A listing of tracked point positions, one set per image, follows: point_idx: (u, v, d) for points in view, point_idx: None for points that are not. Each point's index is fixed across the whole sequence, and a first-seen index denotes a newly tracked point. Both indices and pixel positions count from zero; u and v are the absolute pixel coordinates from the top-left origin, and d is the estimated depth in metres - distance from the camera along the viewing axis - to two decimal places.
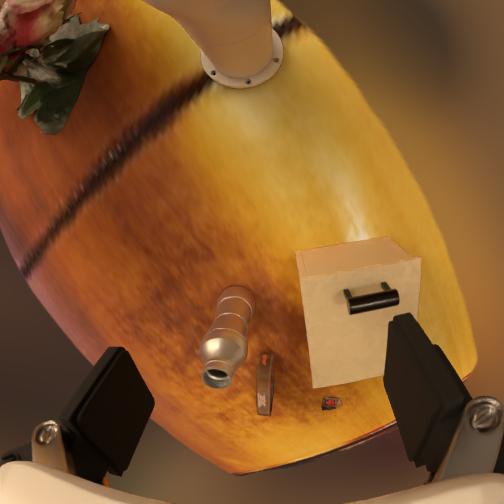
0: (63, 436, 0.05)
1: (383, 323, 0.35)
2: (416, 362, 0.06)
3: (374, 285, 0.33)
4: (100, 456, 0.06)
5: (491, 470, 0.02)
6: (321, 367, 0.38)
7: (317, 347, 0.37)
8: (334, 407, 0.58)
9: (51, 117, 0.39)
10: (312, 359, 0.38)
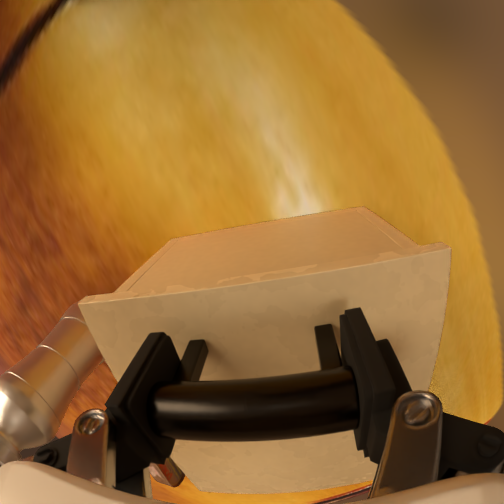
0: (111, 424, 0.06)
1: None
2: (355, 353, 0.07)
3: (291, 334, 0.11)
4: (145, 443, 0.07)
5: (415, 465, 0.03)
6: (200, 471, 0.16)
7: (175, 444, 0.14)
8: None
9: None
10: (175, 458, 0.15)
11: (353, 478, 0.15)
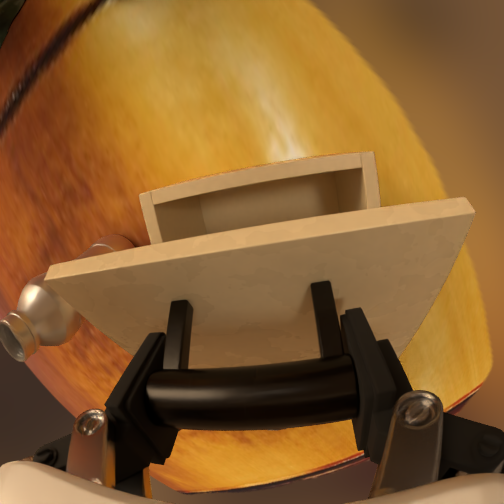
0: (111, 424, 0.06)
1: None
2: (356, 353, 0.07)
3: (284, 290, 0.10)
4: (145, 443, 0.07)
5: (416, 465, 0.03)
6: None
7: None
8: None
9: None
10: None
11: None
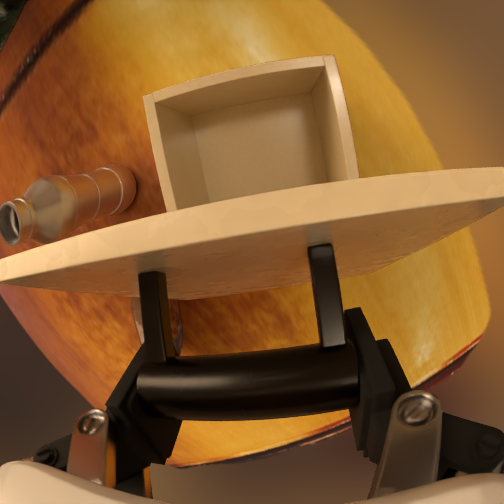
0: (112, 424, 0.06)
1: None
2: None
3: (274, 253, 0.08)
4: (146, 443, 0.07)
5: (415, 464, 0.03)
6: (185, 296, 0.21)
7: None
8: None
9: None
10: None
11: None
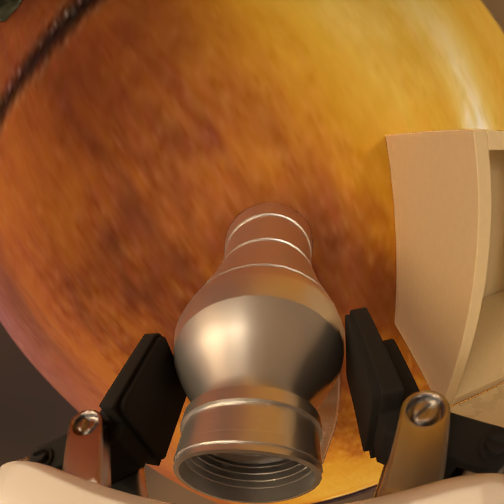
0: (105, 425, 0.06)
1: None
2: (362, 354, 0.07)
3: None
4: (140, 444, 0.07)
5: (425, 465, 0.03)
6: None
7: None
8: None
9: None
10: None
11: None
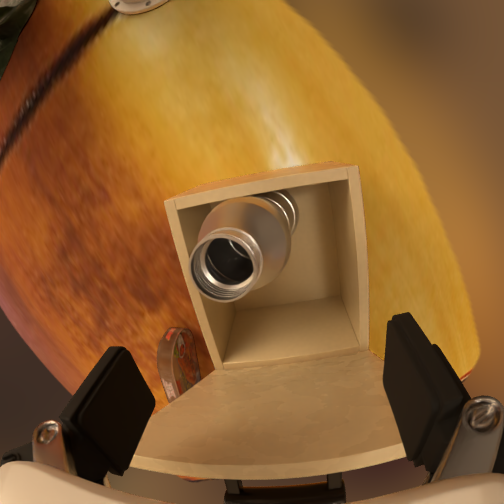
0: (64, 436, 0.05)
1: None
2: (415, 362, 0.06)
3: None
4: (100, 455, 0.06)
5: (489, 470, 0.02)
6: None
7: None
8: None
9: None
10: None
11: None
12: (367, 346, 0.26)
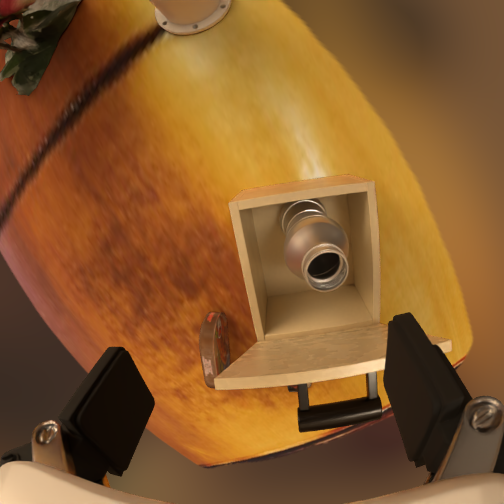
0: (63, 436, 0.05)
1: None
2: (416, 362, 0.06)
3: None
4: (99, 456, 0.06)
5: (491, 470, 0.02)
6: None
7: None
8: None
9: (26, 79, 0.35)
10: None
11: None
12: (378, 320, 0.33)
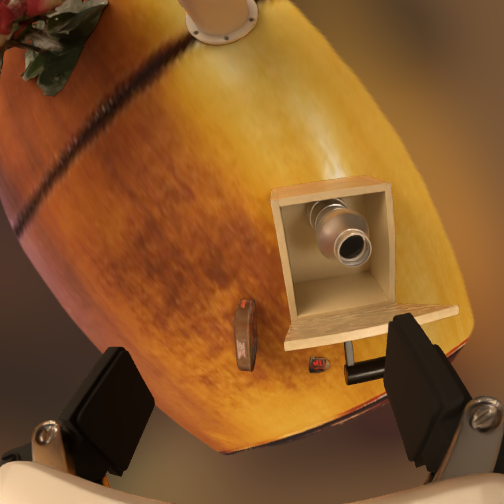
0: (63, 436, 0.05)
1: None
2: (416, 362, 0.06)
3: None
4: (99, 456, 0.06)
5: (491, 470, 0.02)
6: None
7: None
8: (322, 369, 0.58)
9: (52, 80, 0.40)
10: None
11: None
12: (394, 300, 0.39)
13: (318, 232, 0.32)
